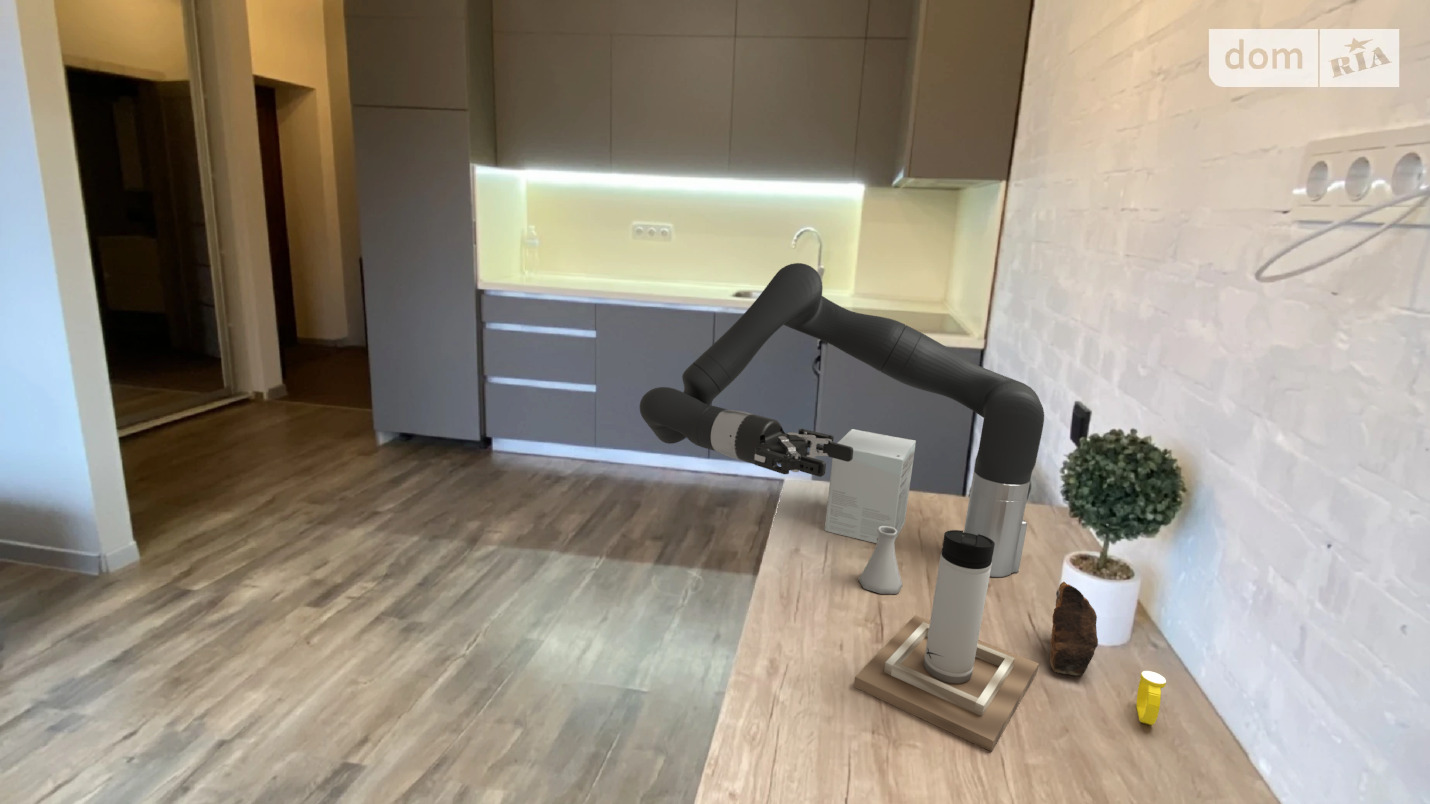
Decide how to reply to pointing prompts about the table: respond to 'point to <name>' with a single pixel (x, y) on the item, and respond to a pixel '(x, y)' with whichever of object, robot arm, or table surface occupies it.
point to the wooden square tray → (949, 686)
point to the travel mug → (958, 606)
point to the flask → (883, 565)
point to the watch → (1149, 696)
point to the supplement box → (870, 485)
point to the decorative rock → (1072, 632)
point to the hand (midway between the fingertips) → (838, 462)
